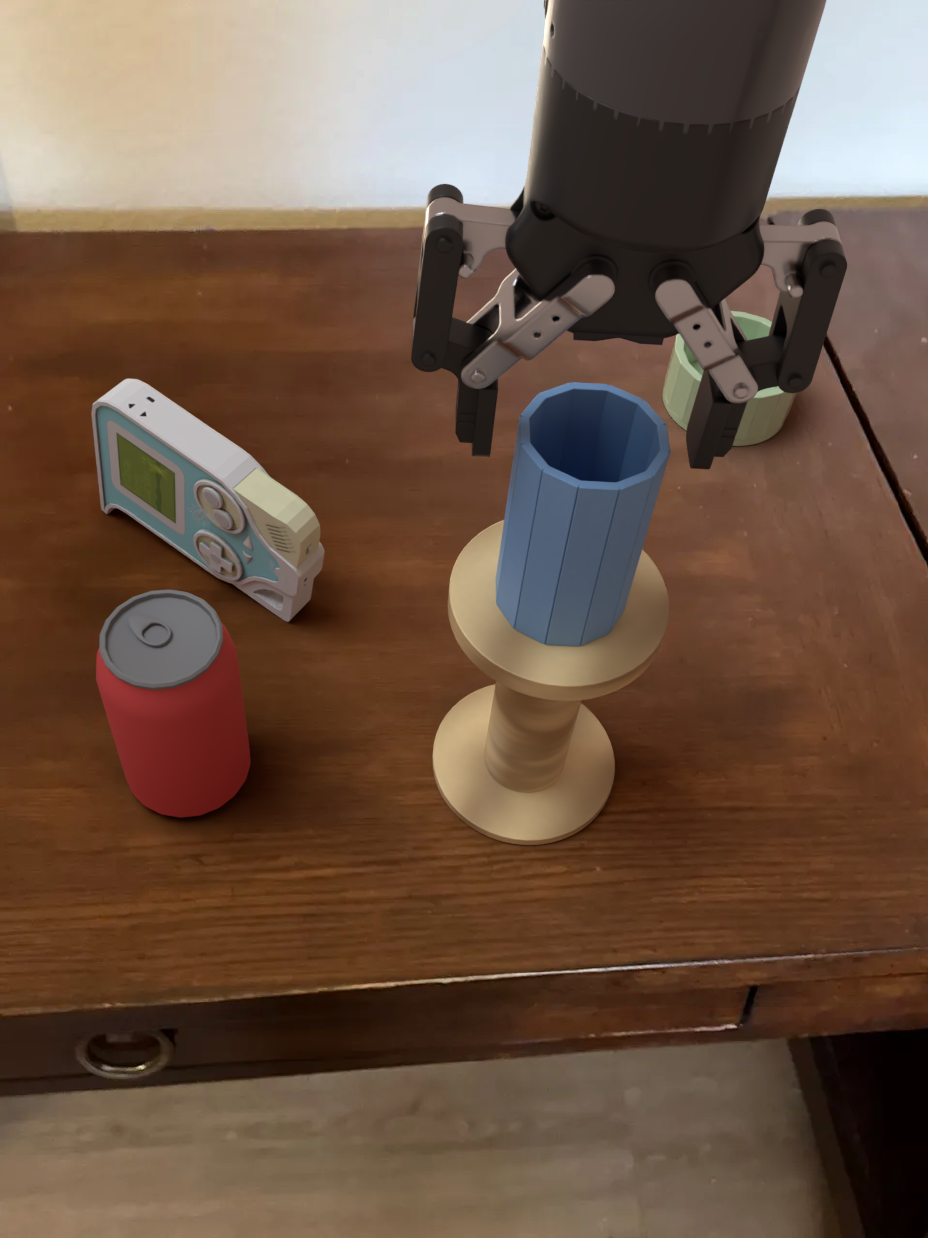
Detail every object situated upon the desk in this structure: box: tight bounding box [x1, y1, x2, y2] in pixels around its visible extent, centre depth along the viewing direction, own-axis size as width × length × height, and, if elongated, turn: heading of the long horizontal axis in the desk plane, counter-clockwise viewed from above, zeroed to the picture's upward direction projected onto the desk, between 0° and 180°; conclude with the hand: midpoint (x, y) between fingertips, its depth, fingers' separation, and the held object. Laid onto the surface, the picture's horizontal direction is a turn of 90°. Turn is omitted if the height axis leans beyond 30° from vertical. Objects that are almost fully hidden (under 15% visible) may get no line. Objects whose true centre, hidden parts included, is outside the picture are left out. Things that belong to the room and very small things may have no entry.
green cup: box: [661, 310, 797, 447], centre depth 84 cm, size 9×9×4 cm
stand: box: [431, 519, 670, 846], centre depth 61 cm, size 10×10×15 cm
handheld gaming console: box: [90, 378, 326, 623], centre depth 70 cm, size 11×3×15 cm
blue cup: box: [496, 381, 671, 646], centre depth 51 cm, size 6×6×10 cm
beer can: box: [95, 589, 252, 819], centre depth 60 cm, size 7×7×12 cm
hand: (589, 448), depth 47 cm, fingers open, 8 cm apart
